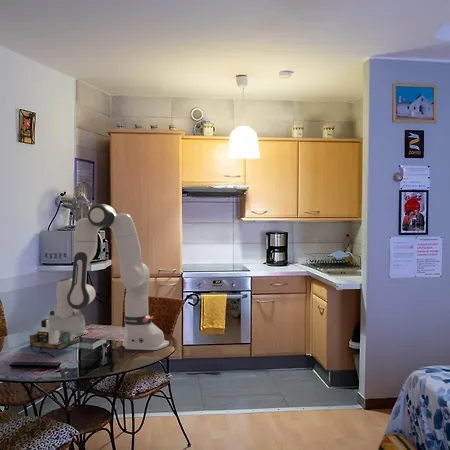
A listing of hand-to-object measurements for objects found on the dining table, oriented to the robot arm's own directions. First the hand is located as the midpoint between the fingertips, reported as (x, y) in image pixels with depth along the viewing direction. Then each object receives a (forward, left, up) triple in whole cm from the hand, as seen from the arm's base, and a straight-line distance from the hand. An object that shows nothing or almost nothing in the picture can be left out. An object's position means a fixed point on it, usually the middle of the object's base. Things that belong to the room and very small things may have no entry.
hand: (67, 340), depth 229 cm
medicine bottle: (+11, 0, -3) cm, 12 cm away
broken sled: (+15, -16, -2) cm, 22 cm away
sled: (+8, 0, -2) cm, 8 cm away
